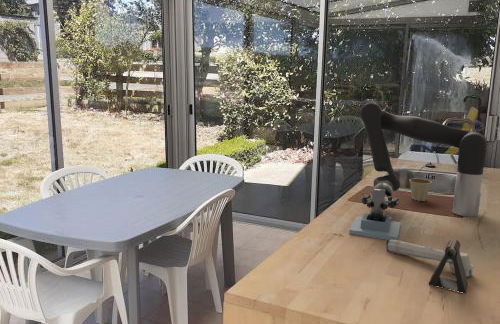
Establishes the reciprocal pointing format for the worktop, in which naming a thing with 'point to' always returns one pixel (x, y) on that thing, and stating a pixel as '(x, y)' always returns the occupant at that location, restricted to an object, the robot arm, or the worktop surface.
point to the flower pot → (419, 189)
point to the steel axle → (377, 204)
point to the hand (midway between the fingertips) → (376, 206)
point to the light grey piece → (427, 254)
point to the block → (375, 227)
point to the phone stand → (458, 267)
